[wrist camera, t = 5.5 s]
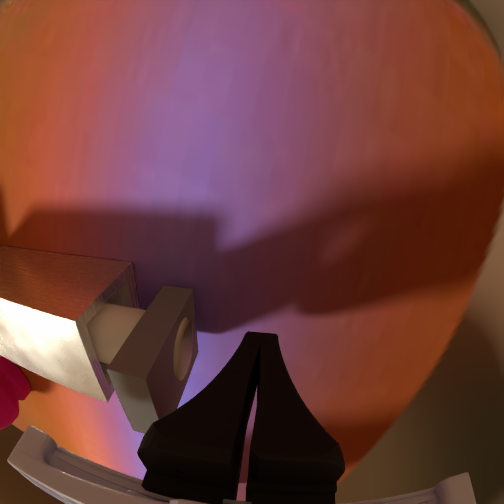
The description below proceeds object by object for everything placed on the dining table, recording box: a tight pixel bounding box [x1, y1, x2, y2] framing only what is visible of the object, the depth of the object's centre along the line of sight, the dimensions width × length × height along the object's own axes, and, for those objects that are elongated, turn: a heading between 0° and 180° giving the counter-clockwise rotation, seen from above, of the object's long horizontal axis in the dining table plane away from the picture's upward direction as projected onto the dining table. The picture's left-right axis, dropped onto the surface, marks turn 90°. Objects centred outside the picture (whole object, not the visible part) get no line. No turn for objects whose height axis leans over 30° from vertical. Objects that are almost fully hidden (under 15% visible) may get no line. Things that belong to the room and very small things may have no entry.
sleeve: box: [0, 246, 140, 402], centre depth 14 cm, size 12×5×5 cm, turn 87°
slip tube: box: [86, 286, 198, 434], centre depth 13 cm, size 23×4×6 cm, turn 87°
